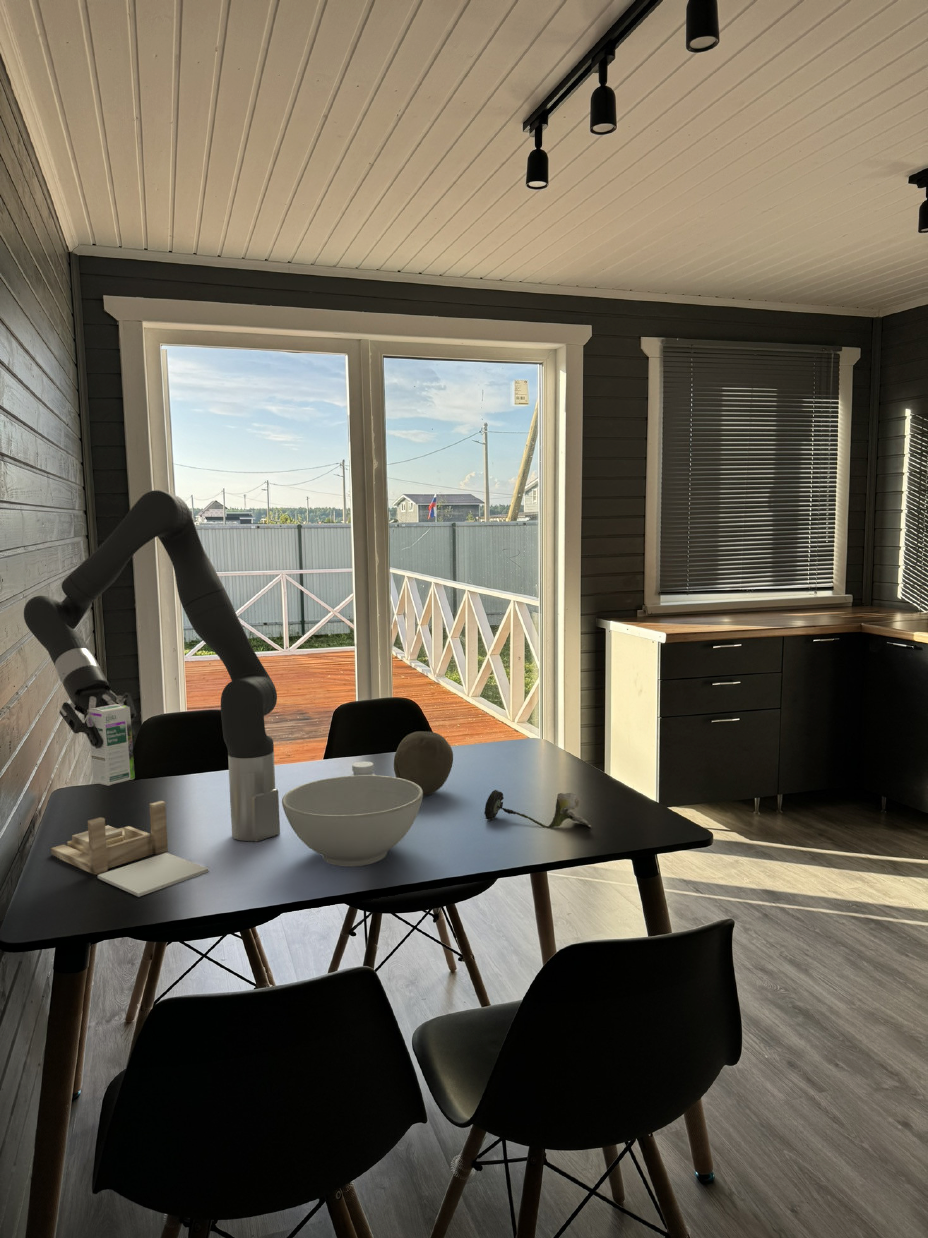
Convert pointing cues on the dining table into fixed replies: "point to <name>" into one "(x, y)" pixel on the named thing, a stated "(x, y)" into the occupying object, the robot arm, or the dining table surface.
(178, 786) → the dining table surface
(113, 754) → the syrup box
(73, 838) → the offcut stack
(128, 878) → the grey mat
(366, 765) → the pill bottle
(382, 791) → the decorative bowl
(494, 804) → the artificial flower
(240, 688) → the robot arm
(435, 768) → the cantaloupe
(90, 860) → the birch rack
